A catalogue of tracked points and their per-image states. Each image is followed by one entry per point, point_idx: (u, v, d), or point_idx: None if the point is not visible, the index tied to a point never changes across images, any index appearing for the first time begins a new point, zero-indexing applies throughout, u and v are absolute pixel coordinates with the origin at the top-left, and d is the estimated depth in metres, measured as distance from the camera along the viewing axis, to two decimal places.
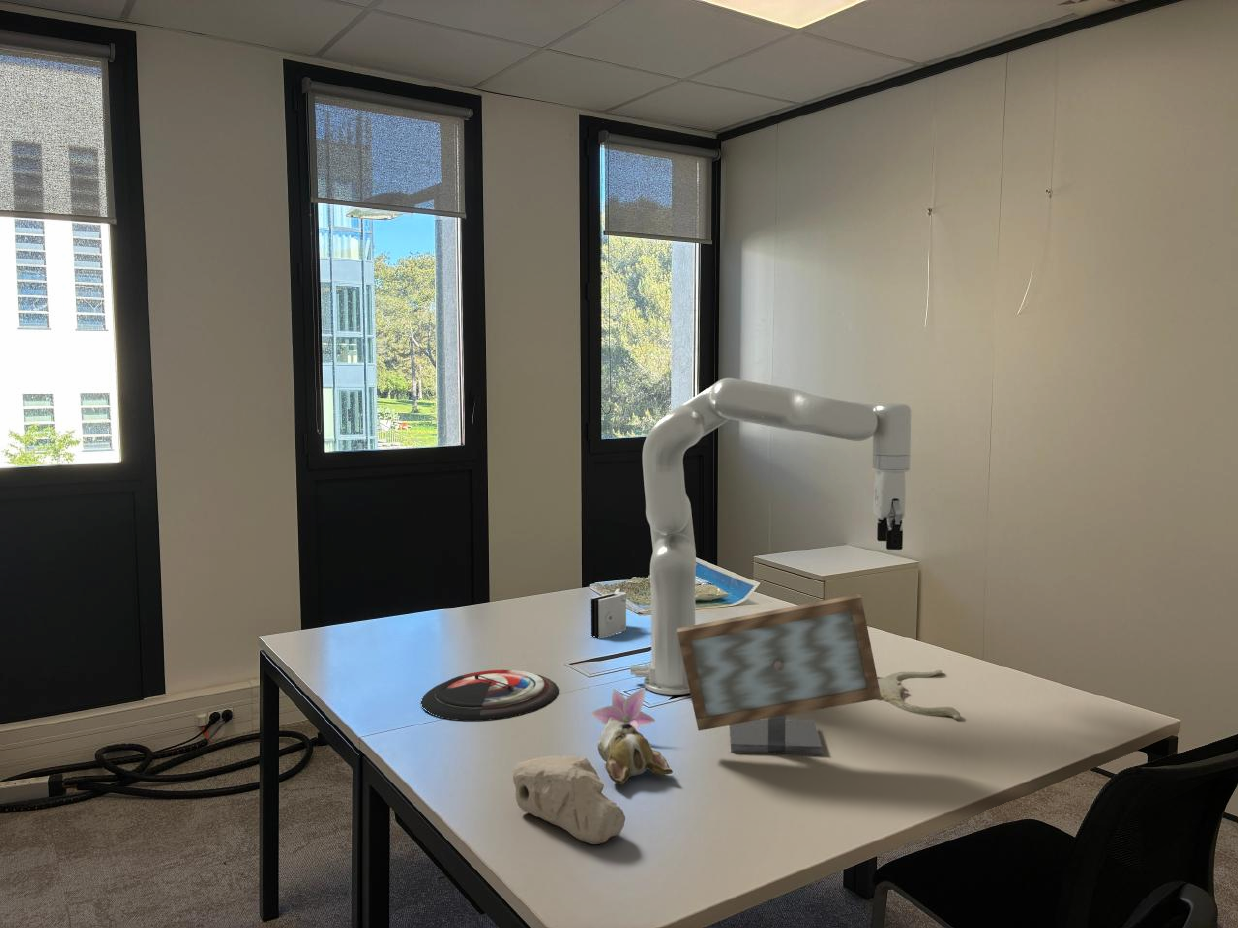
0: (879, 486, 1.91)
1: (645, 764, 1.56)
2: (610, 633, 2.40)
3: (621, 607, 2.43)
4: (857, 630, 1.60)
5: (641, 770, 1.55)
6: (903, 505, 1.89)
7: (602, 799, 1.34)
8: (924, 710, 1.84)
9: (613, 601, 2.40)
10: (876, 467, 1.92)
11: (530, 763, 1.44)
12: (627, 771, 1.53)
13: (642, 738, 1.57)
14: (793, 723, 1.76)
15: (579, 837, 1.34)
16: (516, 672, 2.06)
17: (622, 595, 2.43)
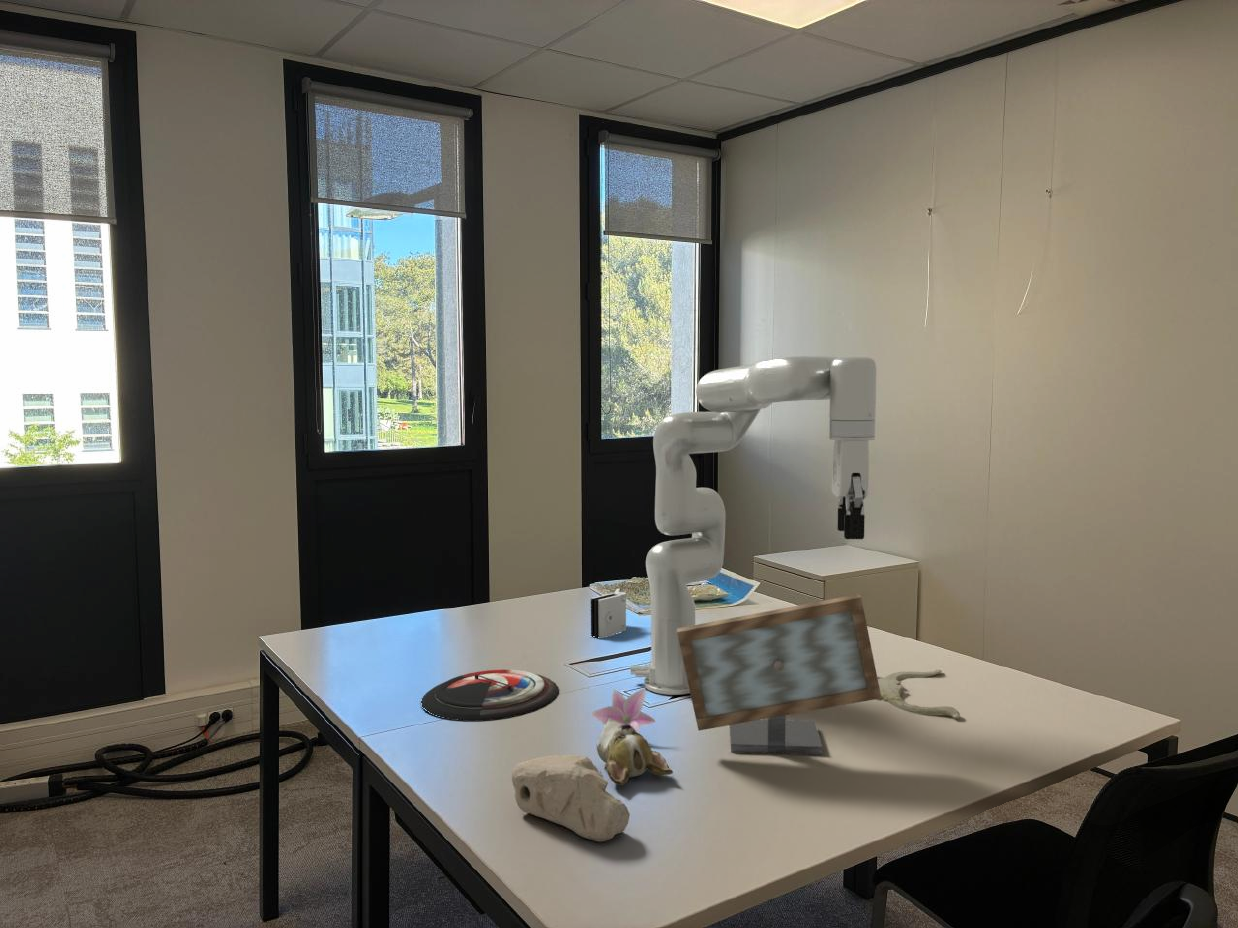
0: (837, 458, 1.56)
1: (645, 765, 1.55)
2: (610, 633, 2.40)
3: (621, 607, 2.43)
4: (857, 630, 1.60)
5: (641, 771, 1.55)
6: (866, 481, 1.54)
7: (607, 796, 1.35)
8: (924, 710, 1.84)
9: (613, 601, 2.40)
10: (833, 435, 1.56)
11: (530, 763, 1.43)
12: (627, 772, 1.53)
13: (642, 739, 1.56)
14: (793, 723, 1.76)
15: (585, 835, 1.35)
16: (516, 672, 2.06)
17: (622, 595, 2.43)
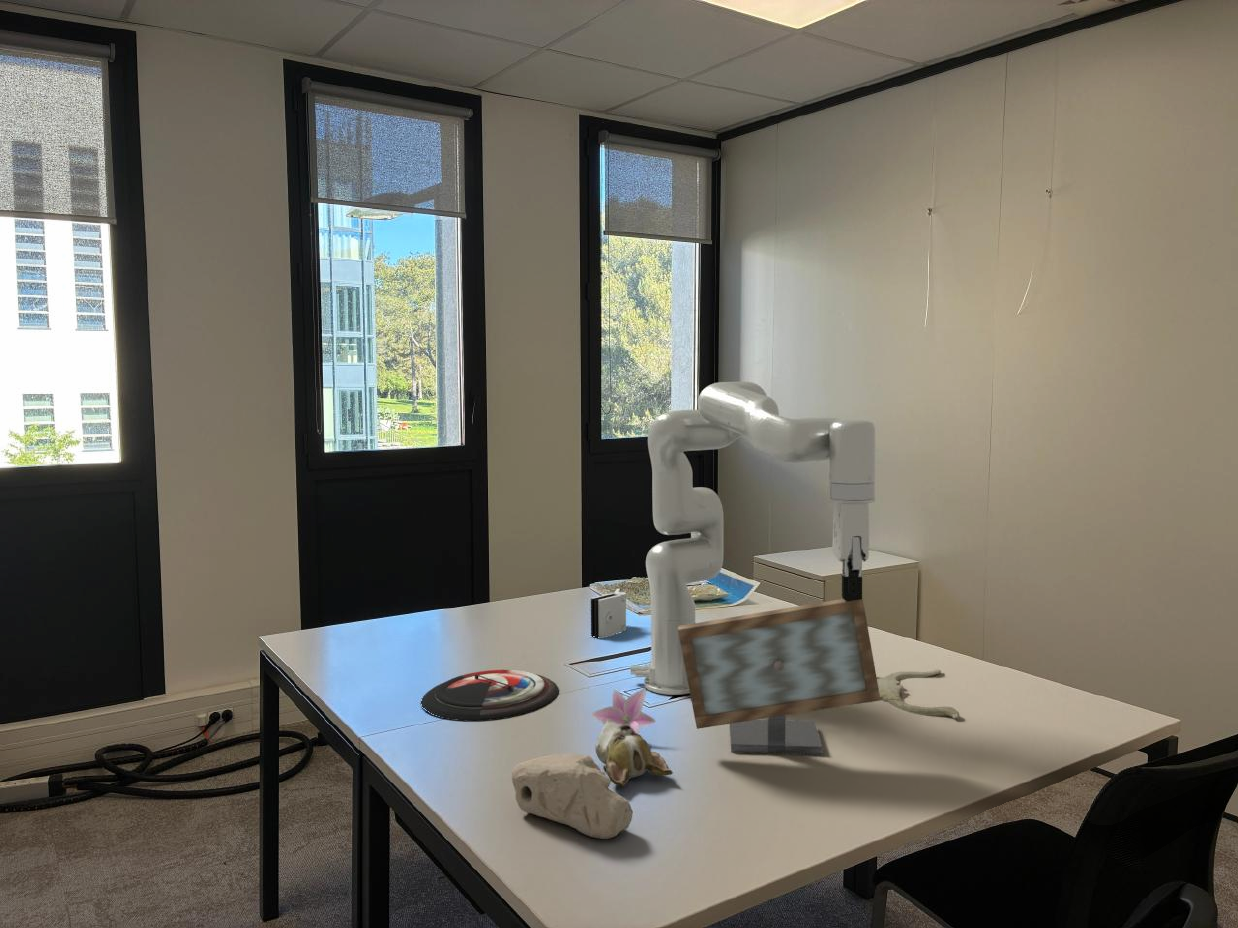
0: (837, 521, 1.57)
1: (644, 765, 1.55)
2: (610, 633, 2.40)
3: (621, 607, 2.43)
4: (858, 632, 1.60)
5: (641, 771, 1.55)
6: (866, 544, 1.54)
7: (611, 794, 1.36)
8: (923, 710, 1.84)
9: (613, 601, 2.40)
10: (833, 498, 1.57)
11: (531, 763, 1.43)
12: (627, 773, 1.52)
13: (641, 739, 1.56)
14: (793, 723, 1.76)
15: (589, 833, 1.35)
16: (516, 672, 2.06)
17: (622, 595, 2.43)
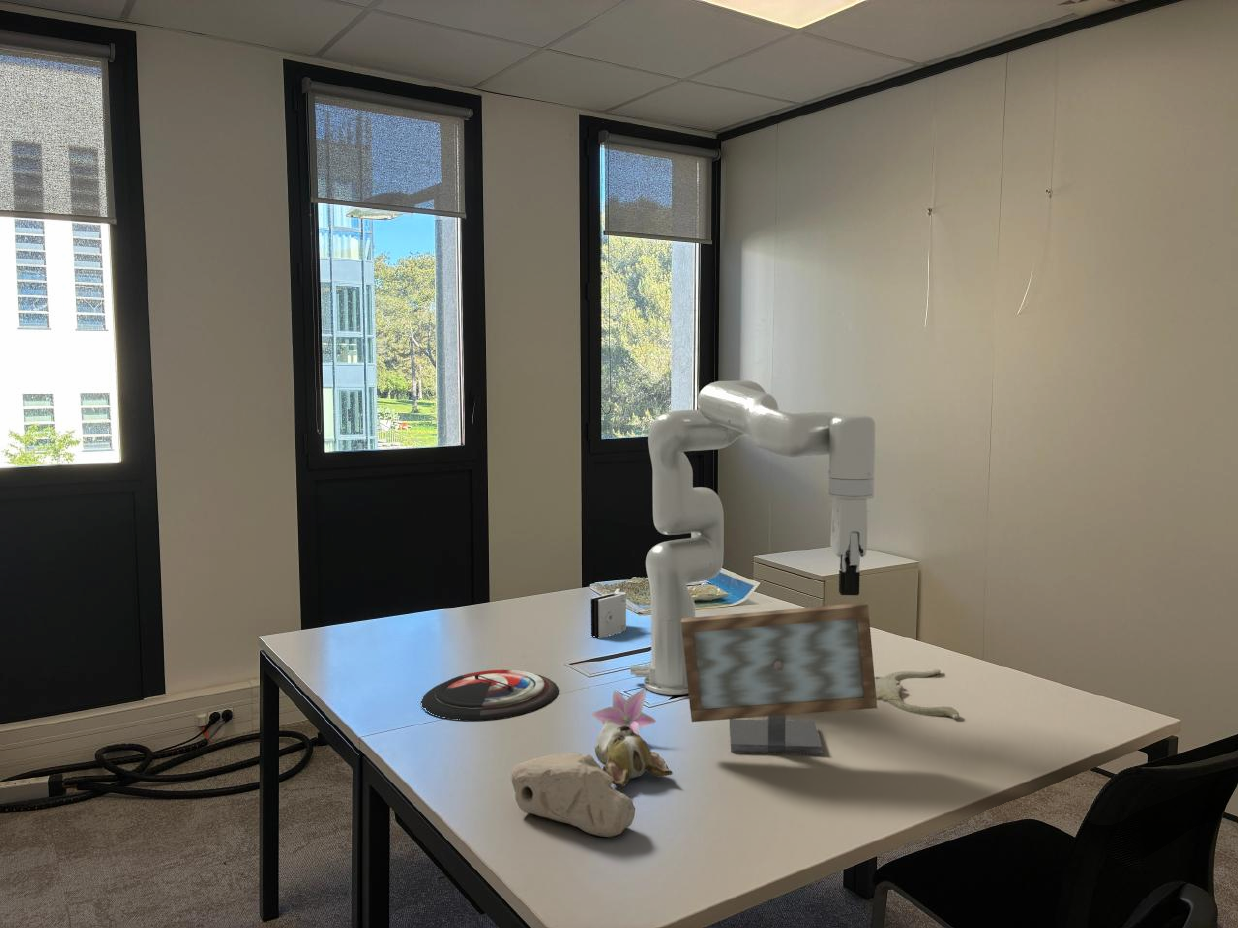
0: (836, 516, 1.57)
1: (644, 766, 1.55)
2: (610, 633, 2.40)
3: (621, 607, 2.43)
4: (860, 638, 1.60)
5: (640, 772, 1.55)
6: (864, 540, 1.55)
7: (615, 792, 1.36)
8: (923, 710, 1.84)
9: (613, 601, 2.40)
10: (832, 493, 1.57)
11: (531, 764, 1.43)
12: (627, 773, 1.52)
13: (641, 740, 1.56)
14: (793, 723, 1.76)
15: (593, 832, 1.36)
16: (516, 672, 2.06)
17: (622, 595, 2.43)
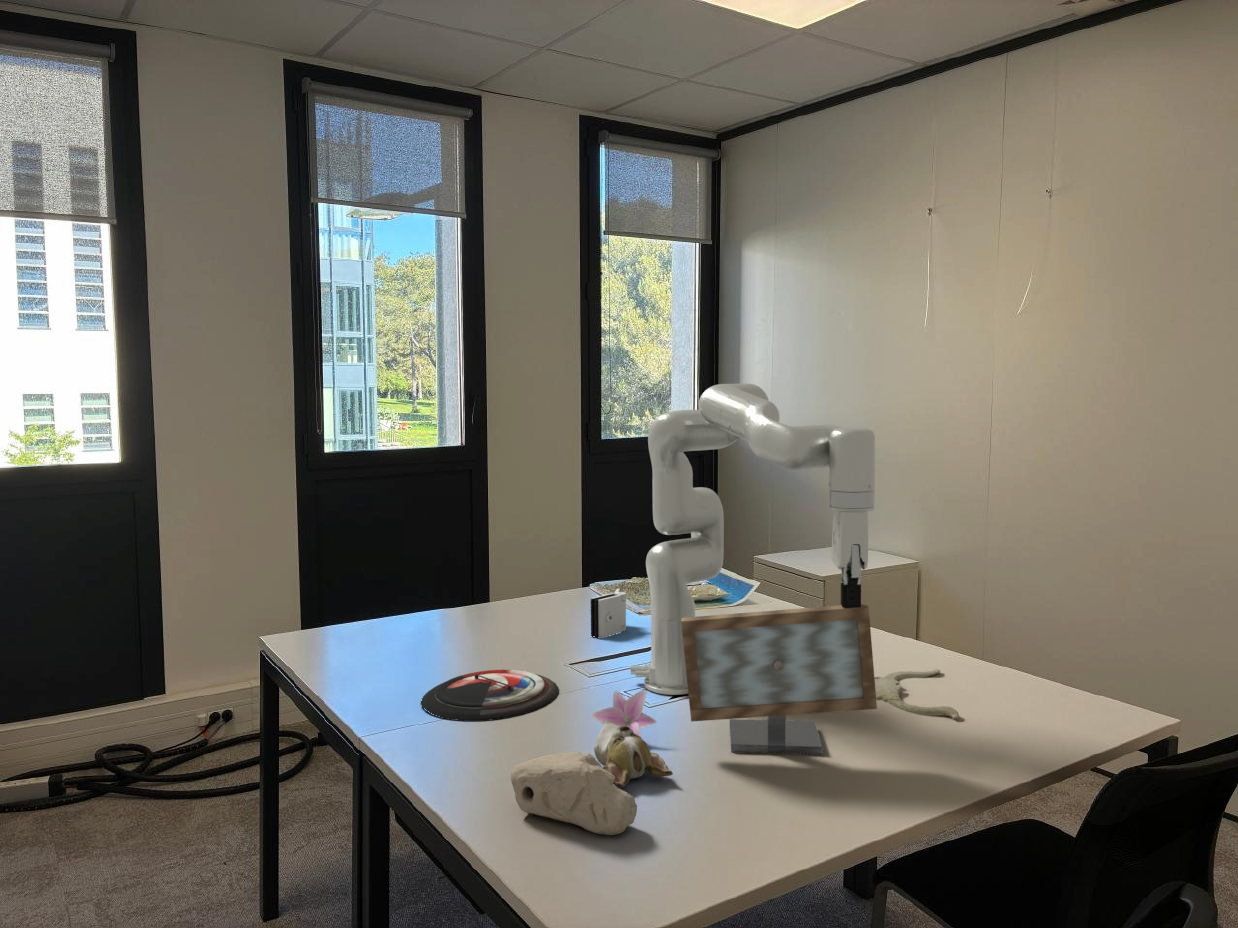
0: (837, 529, 1.57)
1: (644, 766, 1.55)
2: (610, 633, 2.40)
3: (621, 607, 2.43)
4: (860, 639, 1.60)
5: (640, 772, 1.54)
6: (866, 553, 1.55)
7: (618, 790, 1.37)
8: (923, 710, 1.84)
9: (613, 601, 2.40)
10: (833, 505, 1.58)
11: (531, 764, 1.43)
12: (627, 774, 1.52)
13: (641, 740, 1.56)
14: (793, 723, 1.76)
15: (597, 830, 1.36)
16: (516, 672, 2.06)
17: (622, 595, 2.43)
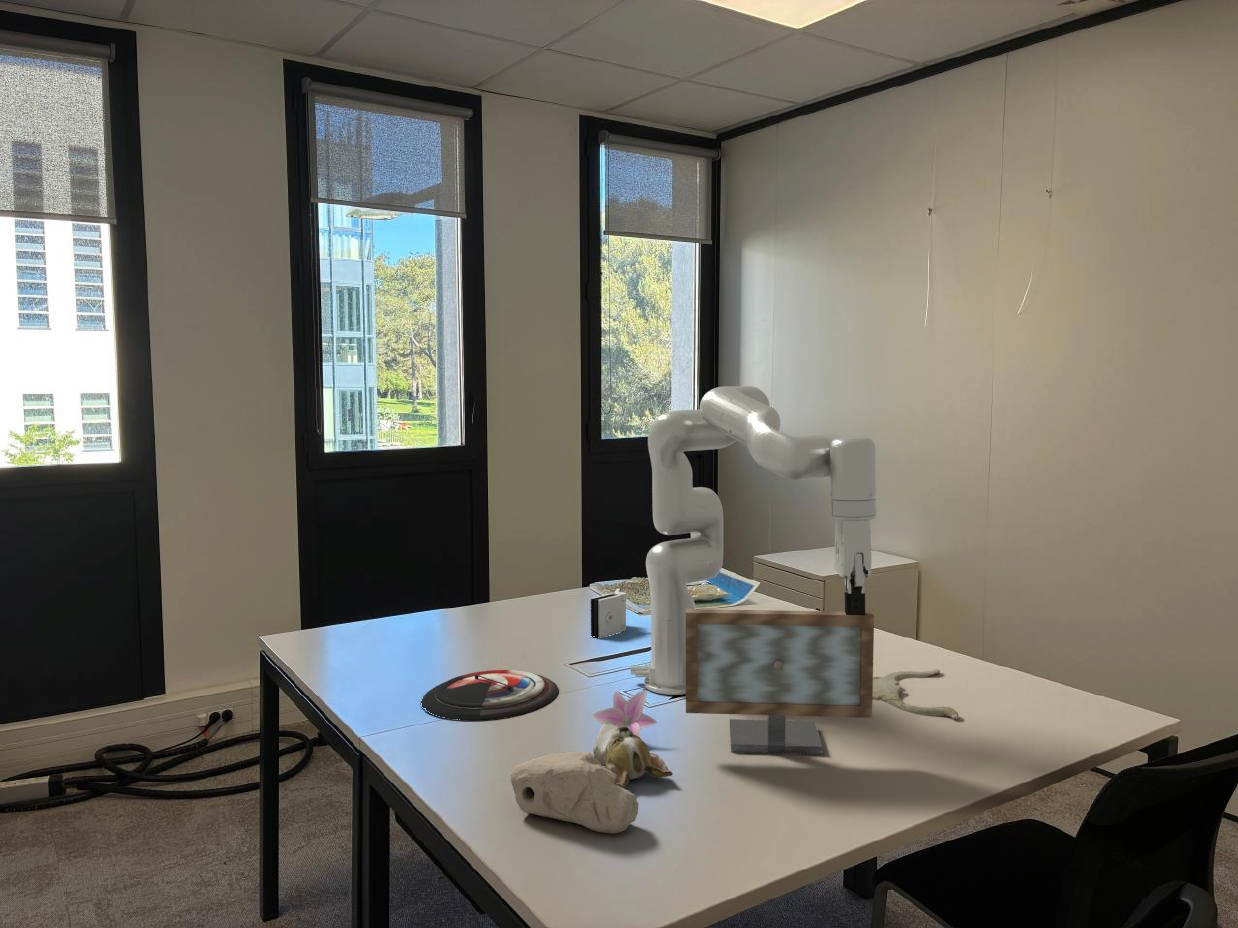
0: (839, 538, 1.57)
1: (644, 767, 1.55)
2: (610, 633, 2.40)
3: (621, 607, 2.43)
4: (863, 647, 1.60)
5: (640, 773, 1.54)
6: (869, 561, 1.55)
7: (620, 789, 1.38)
8: (922, 710, 1.84)
9: (613, 601, 2.40)
10: (835, 514, 1.58)
11: (532, 764, 1.43)
12: (627, 775, 1.52)
13: (640, 741, 1.55)
14: (793, 723, 1.76)
15: (599, 829, 1.37)
16: (516, 672, 2.06)
17: (622, 595, 2.43)
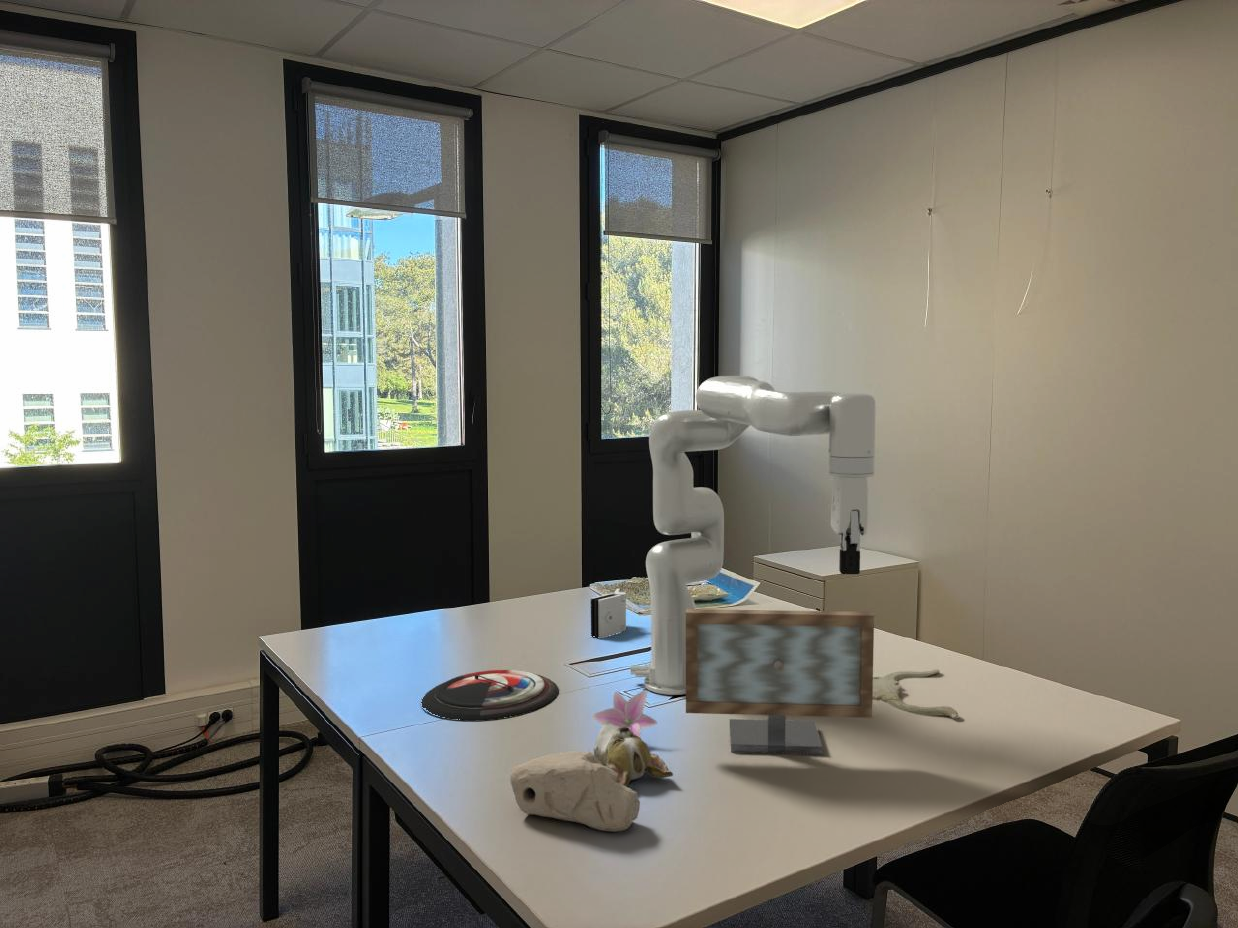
0: (836, 494, 1.57)
1: (644, 767, 1.54)
2: (610, 633, 2.40)
3: (621, 607, 2.43)
4: (863, 647, 1.60)
5: (640, 774, 1.54)
6: (865, 518, 1.54)
7: (622, 787, 1.38)
8: (922, 710, 1.84)
9: (613, 601, 2.40)
10: (832, 471, 1.57)
11: (532, 765, 1.43)
12: (628, 775, 1.52)
13: (641, 741, 1.55)
14: (793, 723, 1.76)
15: (602, 827, 1.37)
16: (516, 672, 2.06)
17: (622, 595, 2.43)
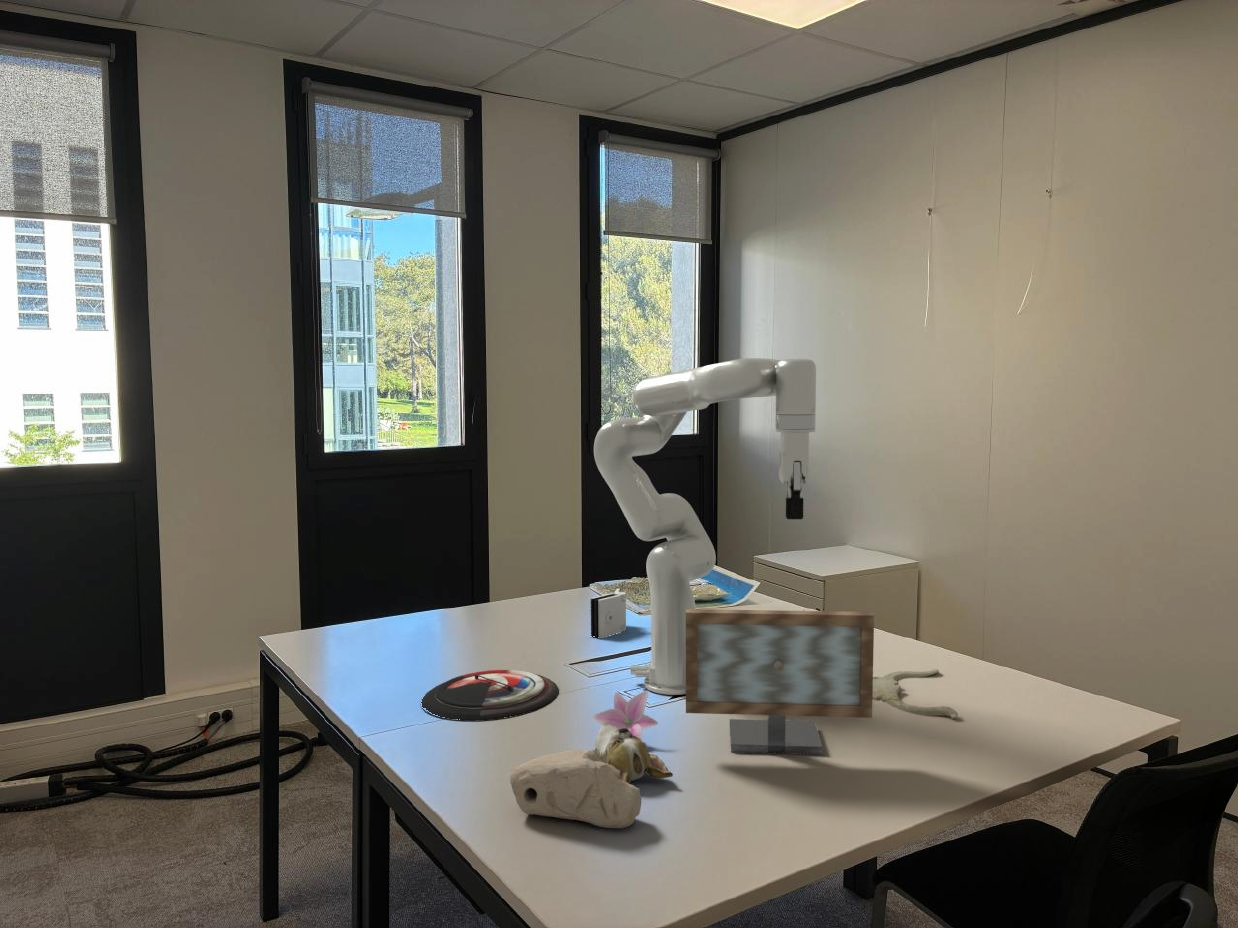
0: (781, 448, 1.78)
1: (644, 768, 1.54)
2: (610, 633, 2.40)
3: (621, 607, 2.43)
4: (863, 647, 1.60)
5: (640, 774, 1.54)
6: (806, 468, 1.75)
7: (625, 784, 1.39)
8: (921, 710, 1.84)
9: (613, 601, 2.40)
10: (778, 427, 1.78)
11: (532, 765, 1.43)
12: (628, 776, 1.51)
13: (640, 742, 1.55)
14: (793, 723, 1.76)
15: (607, 825, 1.38)
16: (516, 672, 2.06)
17: (622, 595, 2.43)
